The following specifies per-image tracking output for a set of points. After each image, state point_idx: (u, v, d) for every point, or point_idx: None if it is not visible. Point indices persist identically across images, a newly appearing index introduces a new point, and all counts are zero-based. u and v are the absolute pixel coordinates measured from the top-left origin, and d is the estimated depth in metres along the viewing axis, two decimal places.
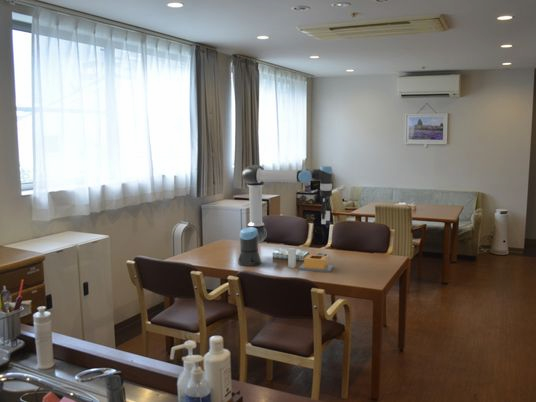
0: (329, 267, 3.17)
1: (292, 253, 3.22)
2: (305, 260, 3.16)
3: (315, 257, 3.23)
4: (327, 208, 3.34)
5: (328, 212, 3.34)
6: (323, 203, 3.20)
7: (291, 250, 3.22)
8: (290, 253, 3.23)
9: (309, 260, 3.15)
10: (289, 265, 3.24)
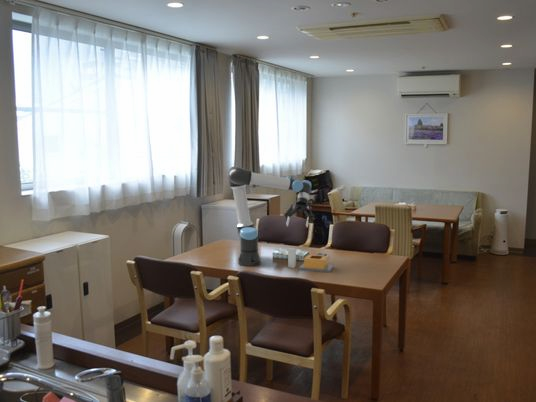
0: (329, 267, 3.17)
1: (292, 253, 3.22)
2: (305, 260, 3.16)
3: (315, 257, 3.23)
4: (290, 215, 3.39)
5: (289, 218, 3.38)
6: None
7: (291, 250, 3.22)
8: (290, 253, 3.23)
9: (309, 260, 3.15)
10: (289, 265, 3.24)
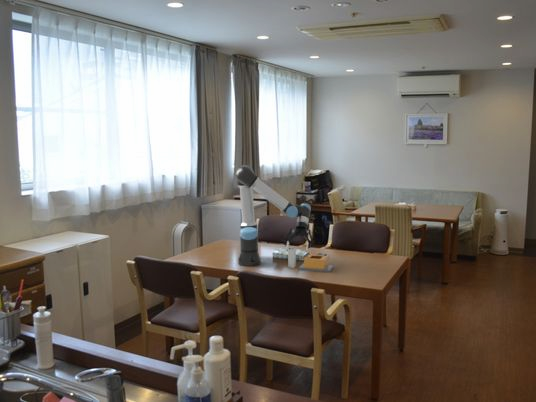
0: (329, 267, 3.17)
1: (292, 253, 3.22)
2: (305, 260, 3.16)
3: (315, 257, 3.23)
4: (290, 239, 3.35)
5: (288, 243, 3.34)
6: None
7: (291, 250, 3.22)
8: (290, 253, 3.23)
9: (309, 260, 3.15)
10: (289, 265, 3.24)
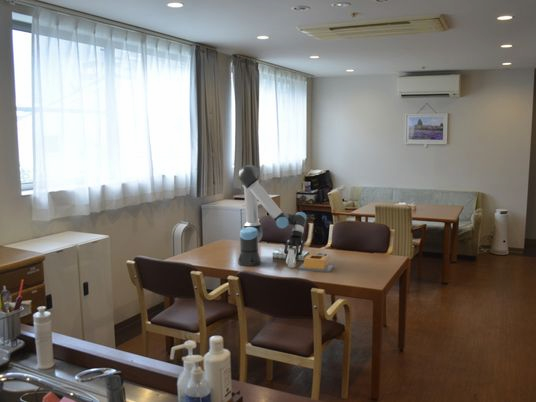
0: (329, 267, 3.17)
1: (292, 253, 3.22)
2: (305, 260, 3.16)
3: (315, 257, 3.23)
4: None
5: None
6: (303, 245, 3.27)
7: (291, 250, 3.22)
8: (290, 253, 3.23)
9: (309, 260, 3.15)
10: (289, 265, 3.24)
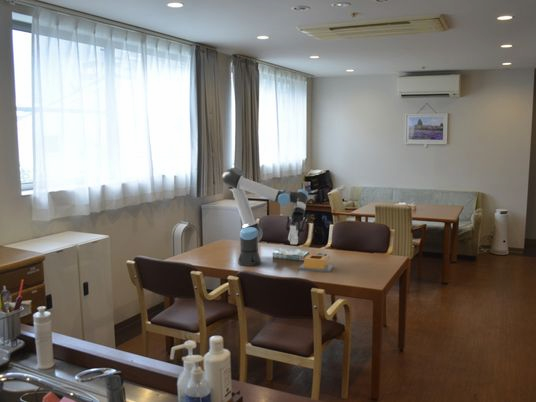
0: (329, 267, 3.17)
1: (294, 229, 3.20)
2: (305, 260, 3.16)
3: (315, 257, 3.23)
4: None
5: None
6: (305, 222, 3.25)
7: (293, 226, 3.20)
8: (292, 229, 3.20)
9: (309, 260, 3.15)
10: (291, 242, 3.22)
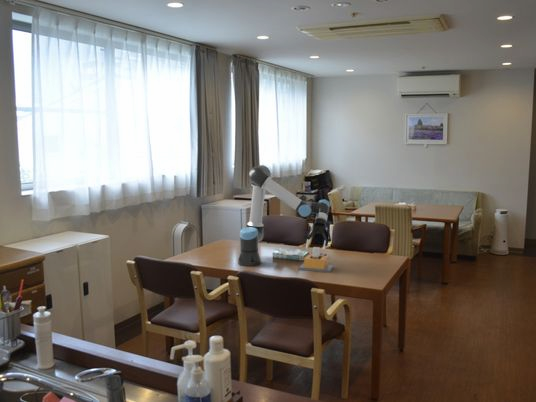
0: (329, 267, 3.17)
1: (316, 252, 3.17)
2: (305, 260, 3.16)
3: None
4: (309, 237, 3.22)
5: (308, 242, 3.21)
6: (329, 232, 3.21)
7: (315, 249, 3.17)
8: (314, 252, 3.17)
9: (309, 260, 3.15)
10: None
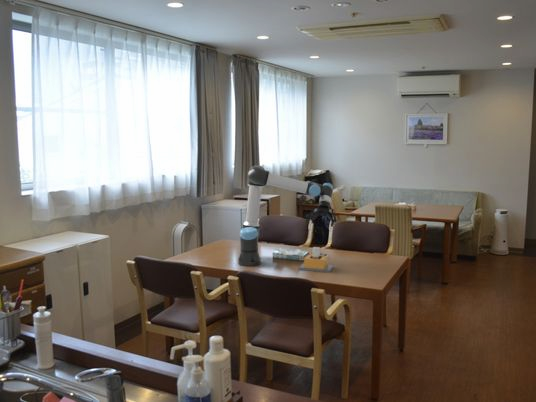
0: (329, 267, 3.17)
1: (316, 252, 3.17)
2: (305, 260, 3.16)
3: None
4: (312, 218, 3.32)
5: (311, 222, 3.31)
6: (333, 213, 3.30)
7: (315, 249, 3.17)
8: (314, 252, 3.17)
9: (309, 260, 3.15)
10: None
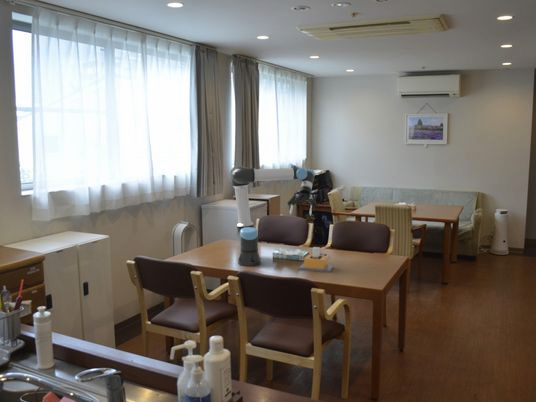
0: (329, 267, 3.17)
1: (316, 252, 3.17)
2: (305, 260, 3.16)
3: None
4: (293, 203, 3.39)
5: (292, 207, 3.38)
6: (314, 198, 3.37)
7: (315, 249, 3.17)
8: (314, 252, 3.17)
9: (309, 260, 3.15)
10: None
